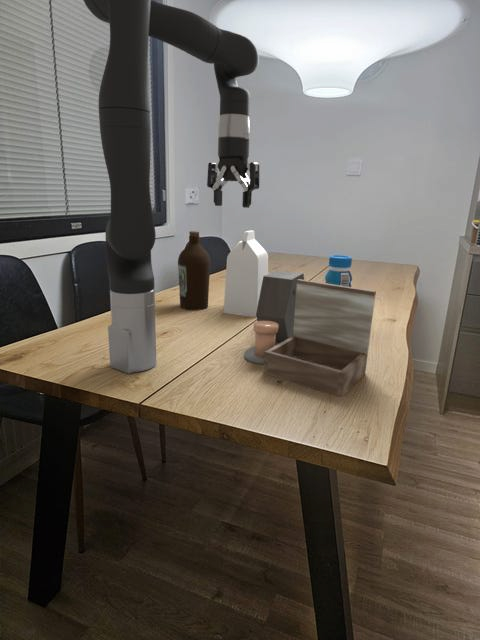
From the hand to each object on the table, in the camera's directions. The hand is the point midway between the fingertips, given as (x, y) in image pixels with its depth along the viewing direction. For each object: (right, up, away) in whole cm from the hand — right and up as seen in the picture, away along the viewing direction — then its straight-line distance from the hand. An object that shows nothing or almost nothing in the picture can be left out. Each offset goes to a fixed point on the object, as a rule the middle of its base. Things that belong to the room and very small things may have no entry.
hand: (231, 206), depth 106 cm
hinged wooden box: (+18, -40, -13) cm, 46 cm away
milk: (+4, -26, +34) cm, 43 cm away
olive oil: (-14, -24, +37) cm, 46 cm away
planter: (+13, -33, +10) cm, 37 cm away
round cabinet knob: (+8, -37, -5) cm, 38 cm away
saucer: (+8, -37, -5) cm, 39 cm away
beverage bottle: (+32, -28, +28) cm, 51 cm away
